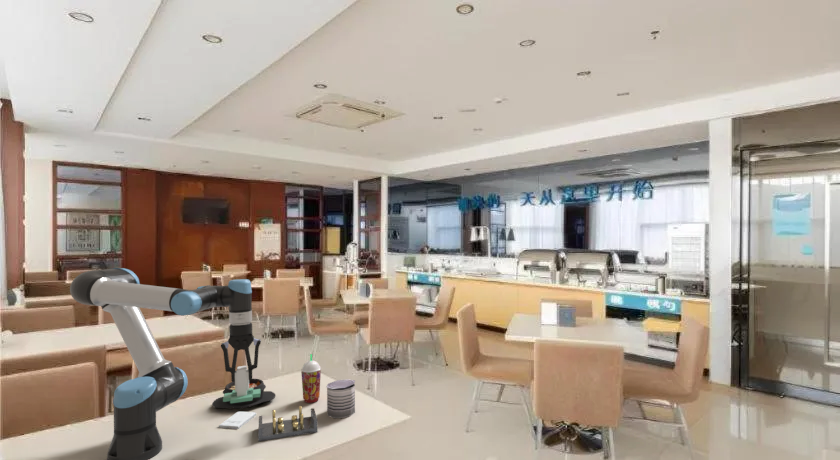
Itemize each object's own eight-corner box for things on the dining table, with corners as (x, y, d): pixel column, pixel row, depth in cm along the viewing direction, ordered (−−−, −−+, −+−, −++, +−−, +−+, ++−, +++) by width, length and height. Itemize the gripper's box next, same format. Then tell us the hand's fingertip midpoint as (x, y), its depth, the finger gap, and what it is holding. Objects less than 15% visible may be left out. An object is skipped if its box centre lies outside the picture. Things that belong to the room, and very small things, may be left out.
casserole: (274, 392, 197) (274, 373, 197) (276, 407, 180) (276, 387, 180) (214, 400, 188) (214, 380, 188) (210, 416, 171) (210, 395, 171)
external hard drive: (256, 416, 172) (238, 430, 160) (237, 415, 173) (218, 429, 161) (256, 412, 172) (238, 426, 160) (237, 411, 173) (218, 424, 161)
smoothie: (299, 398, 188) (299, 353, 189) (319, 395, 192) (318, 350, 192) (303, 405, 181) (302, 357, 181) (323, 402, 184) (322, 355, 185)
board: (222, 404, 146) (221, 374, 146) (225, 394, 156) (224, 366, 156) (260, 399, 150) (259, 369, 150) (260, 389, 160) (260, 362, 160)
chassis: (258, 441, 150) (258, 422, 150) (258, 428, 160) (258, 410, 160) (317, 432, 156) (317, 414, 156) (314, 419, 167) (314, 403, 167)
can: (340, 420, 166) (339, 389, 166) (320, 413, 173) (320, 383, 173) (361, 411, 175) (361, 381, 175) (342, 404, 182) (341, 376, 182)
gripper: (214, 327, 147) (216, 396, 147) (264, 323, 152) (266, 389, 152) (217, 323, 154) (218, 389, 154) (265, 319, 159) (266, 383, 159)
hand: (242, 389), depth 153 cm, fingers closed on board, 3 cm apart
